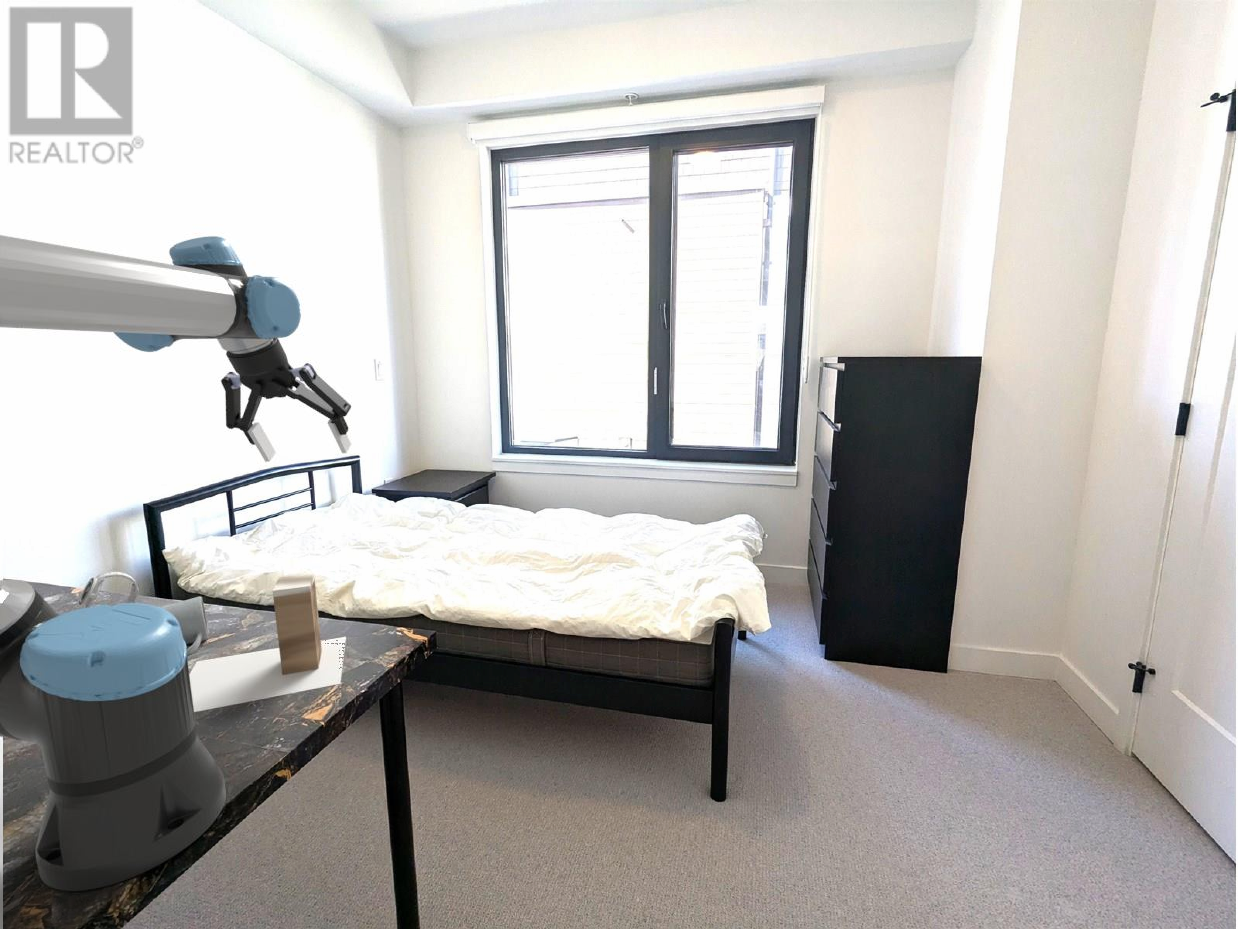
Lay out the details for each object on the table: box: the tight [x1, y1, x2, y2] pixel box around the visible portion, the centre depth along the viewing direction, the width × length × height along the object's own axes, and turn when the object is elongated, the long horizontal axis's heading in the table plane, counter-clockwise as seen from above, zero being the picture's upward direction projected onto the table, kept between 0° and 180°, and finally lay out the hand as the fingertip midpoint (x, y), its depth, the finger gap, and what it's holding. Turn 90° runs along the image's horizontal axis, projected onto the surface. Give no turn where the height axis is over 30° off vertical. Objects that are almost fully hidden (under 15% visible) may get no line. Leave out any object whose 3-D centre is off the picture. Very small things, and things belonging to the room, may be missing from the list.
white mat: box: [189, 636, 347, 713], centre depth 89 cm, size 16×22×1 cm
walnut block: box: [272, 572, 322, 675], centre depth 90 cm, size 6×5×14 cm
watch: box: [78, 571, 140, 609], centre depth 102 cm, size 6×8×11 cm
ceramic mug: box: [159, 596, 210, 656], centre depth 96 cm, size 11×8×8 cm
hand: (309, 453), depth 100 cm, fingers open, 13 cm apart
